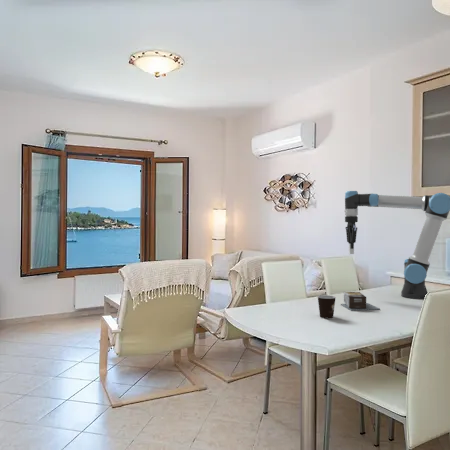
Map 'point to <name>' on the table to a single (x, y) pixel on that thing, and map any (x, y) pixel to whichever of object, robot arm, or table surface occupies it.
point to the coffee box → (355, 300)
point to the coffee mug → (326, 306)
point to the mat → (368, 307)
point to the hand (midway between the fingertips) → (351, 253)
